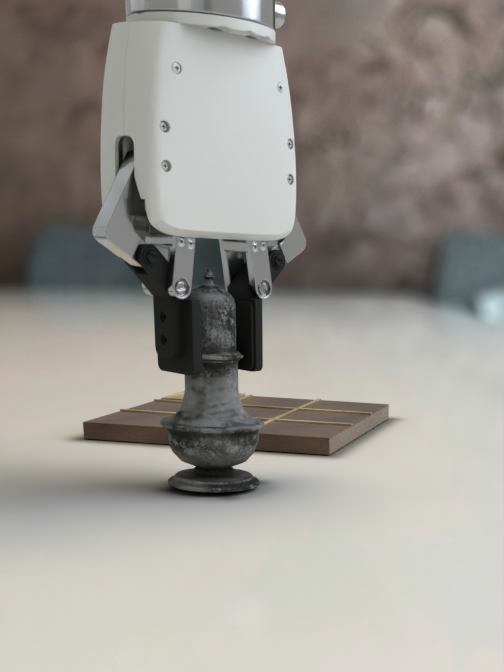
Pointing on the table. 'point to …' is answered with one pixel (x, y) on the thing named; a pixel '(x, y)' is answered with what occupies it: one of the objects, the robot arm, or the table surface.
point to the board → (277, 414)
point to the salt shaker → (214, 406)
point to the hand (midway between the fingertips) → (211, 367)
